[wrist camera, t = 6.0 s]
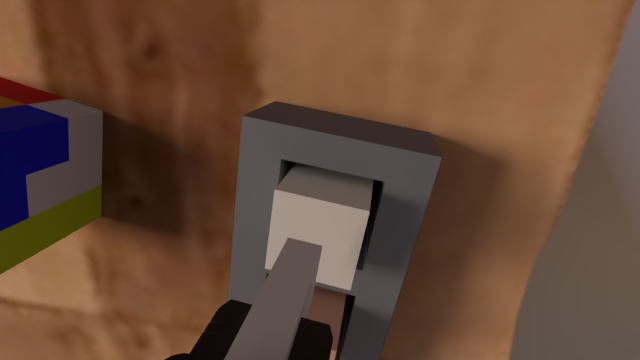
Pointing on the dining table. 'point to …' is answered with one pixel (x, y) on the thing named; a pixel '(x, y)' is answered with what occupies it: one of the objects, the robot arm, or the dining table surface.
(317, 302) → the key terracotta
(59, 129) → the puzzle toy
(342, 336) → the console
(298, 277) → the robot arm
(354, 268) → the key ivory
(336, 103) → the dining table surface
